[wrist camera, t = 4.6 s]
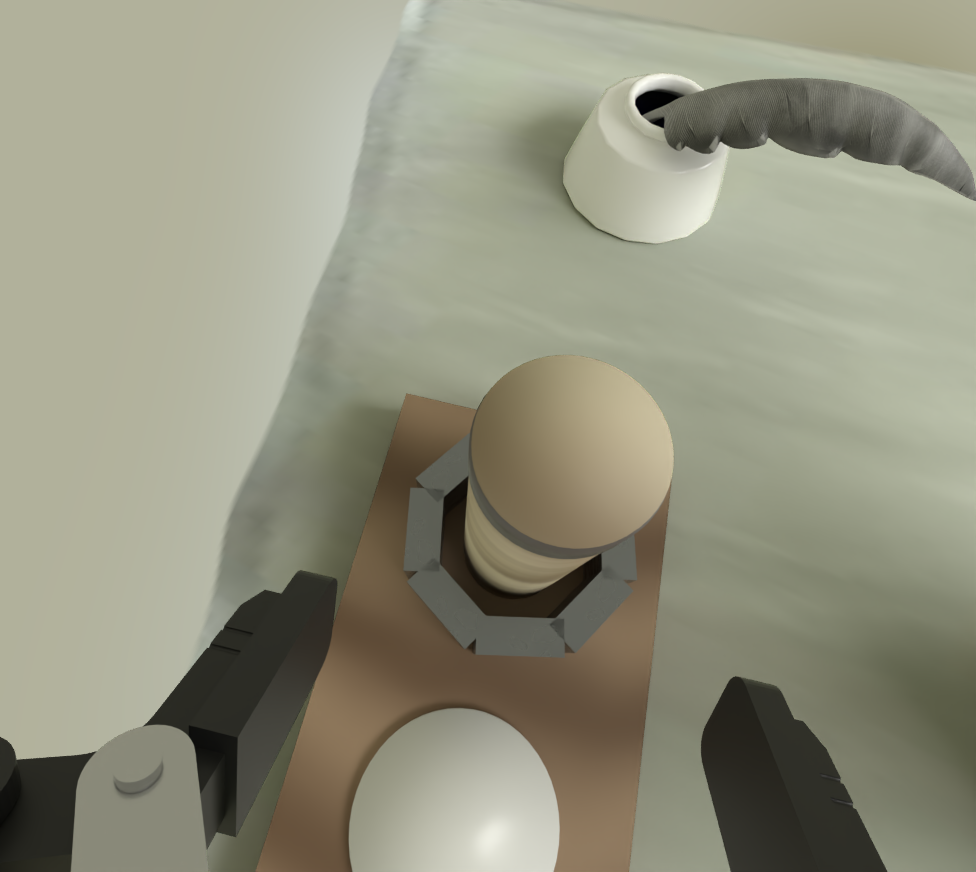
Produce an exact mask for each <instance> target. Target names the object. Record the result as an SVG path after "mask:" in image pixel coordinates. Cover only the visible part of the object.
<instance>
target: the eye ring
mask: <svg viewBox="0 0 976 872" xmlns="http://www.w3.org/2000/svg"><path fill="white" fill-rule="evenodd" d="M469 437H470V433H469V434H467V435H466V436H465V437H464V438H463V439H462V440H460V441H459V442H458V443H457V444H456V445H454V446H453V447H452V448H451V449H450V450H448V451H447V452H446V453H445V454H444V455H443V456H441V457H440V458H439V459H438V460H437V461H435V462H434V463H433V464H432V465H431V466H429V467H428V468H427V469H426V470H425V471H424V472H422V473H421V474H420V475H419V476H418V477H416V478H415V479H416V483H417V487H418V488H410V499H409V511H408V522H407V534H406V545H405V556H404V568H403V571H404V572H405V574H406V575H407V577H408V578H409V580H408V581H407V583H408V584H409V585H410V587H411V588H412V589H413V591H414V592H415V593H416V594H417V595H418V596H419V598H420V599H421V600H422V601H423V602H424V603H425V605H426V606H427V607H428V608H429V609H430V610H431V612H432V613H433V614H434V615H435V616H436V617H437V619H438V620H439V621H440V622H441V623H442V624H443V626H444V627H445V628H446V629H447V630H448V631H449V633H450V634H451V635H452V636H453V637H454V638H455V640H456V641H457V642H458V643H459V644H460V645H461V647H462V648H463V649H466V648H467V647H468V646H469V645H470V644H471V643H472V642H473V654H475V655H501V656H529V657H558V658H565V653H576V652H577V651H578V650H579V649H580V648H581V647H582V646H583V645H584V644H585V643H586V641H587V640H588V639H589V638H590V637H591V636H592V635H593V634H594V633H595V632H596V631H597V630H598V629H599V627H600V626H601V625H602V624H603V623H604V622H605V621H606V620H607V619H608V618H609V617H610V616H611V615H612V613H613V612H614V611H615V610H616V609H617V608H618V607H619V606H620V605H621V604H622V603H623V602H624V601H625V599H626V598H627V597H628V596H629V595H630V594H631V593H632V592H633V590H632V588H631V587H630V586H629V585H628V583H631V582H634V581H636V580H637V569H636V553H635V537H634V535H632V536H631V537H629V538H628V539H626V540H625V541H623V542H622V543H620V544H618V545H617V546H615V547H614V548H612V549H610V550H607V551H605V552H603V553H601V554H598V555H596V556H595V557H593V558H592V559H590V560H589V561H587V562H586V563H584V564H583V581H582V582H581V583H580V584H579V585H578V586H577V587H576V588H575V589H574V590H573V591H572V592H571V593H570V594H569V595H568V596H567V597H566V598H565V599H564V600H563V601H562V602H561V603H560V604H559V605H558V606H557V607H556V609H555V610H554V611H553V612H552V613H551V614H550V615H549V616H548V617H547V618H529V617H503V616H486V615H485V614H484V613H483V612H482V611H481V610H480V609H479V608H478V606H477V605H476V604H475V603H474V602H473V601H472V600H471V598H470V597H469V596H468V595H467V594H466V593H465V592H464V591H463V589H462V588H461V587H460V586H459V585H458V584H457V583H456V582H455V580H454V579H453V578H452V577H451V576H450V575H449V574H448V573H447V571H446V570H445V569H444V568H443V567H442V559H443V542H444V526H445V516H446V515H447V514H448V513H449V512H450V511H451V510H452V509H453V508H455V507H456V506H457V505H458V504H459V503H460V502H461V501H463V500H464V499H465V498H466V497H467V493H468V480H469V474H468V448H469Z"/></svg>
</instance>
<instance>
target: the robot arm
mask: <svg viewBox="0 0 976 872" xmlns="http://www.w3.org/2000/svg"><path fill="white" fill-rule="evenodd" d="M336 593H337V580H336V579H335V578H331V577H327V576H323V575H318V574H314V573H310V572H306V571H302V570H300V571H298V572H297V573H296V574H295V576H294V577H293V578H292V580H291V581H290V583H289V584H288V585H287V587H286V588H285V590H284V591H283V592H282V594H280V593H276V592H272V591H268V590H264V591H262V592H261V593H259V594H258V595H256V596H255V597H253V598H251V599H250V600H248V601H247V602H245V603H243V604H242V605H241V606H240V607H239V608H238V609H237V611H236V612H235V613H234V614H233V616H232V617H231V618H230V619H229V621H228V622H227V623H226V625H225V626H224V629H223V630H221V631H220V632H219V633H218V635H217V636H216V637H215V638H214V640H213V641H212V642H211V644H210V647H209V648H207V649H206V650H205V651H204V652H203V654H202V655H201V656H200V657H199V659H198V660H197V661H196V663H195V664H194V665H193V666H192V668H191V669H190V670H189V671H188V673H187V674H186V675H185V676H184V678H183V679H182V680H181V682H180V683H179V684H178V685H177V687H176V688H175V689H174V691H173V692H172V693H171V694H170V695H169V697H168V698H167V699H166V700H165V702H164V703H163V704H162V706H161V707H160V708H159V709H158V711H157V712H156V713H155V714H154V716H153V717H152V718H151V719H150V720H149V721H148V722H147V723H146V724H145V725H144V726H143V727H139V728H136V729H133V730H130V731H127V732H125V733H123V734H121V735H119V736H117V737H115V738H114V739H112V740H111V741H109V742H108V743H106V744H105V745H104V746H103V747H101V748H100V749H99V750H98V751H96V752H92V753H88V754H82V755H74V756H60V757H47V758H34V759H21V760H16V755H15V751H14V749H13V747H12V745H11V744H10V743H9V742H8V741H7V740H5V739H3V738H1V737H0V872H209V867H208V859H207V849H208V847H209V845H210V843H211V841H212V839H213V838H214V836H215V834H216V832H218V833H222V834H226V835H230V836H234V837H236V836H237V834H238V832H239V830H240V828H241V826H242V824H243V822H244V820H245V818H246V816H247V814H248V812H249V810H250V808H251V806H252V804H253V802H254V800H255V798H256V796H257V794H258V793H259V791H260V789H261V787H262V785H263V783H264V781H265V779H266V777H267V775H268V773H269V771H270V769H271V767H272V765H273V763H274V761H275V759H276V757H277V755H278V753H279V751H280V749H281V747H282V745H283V743H284V741H285V739H286V737H287V735H288V733H289V731H290V729H291V727H292V726H293V724H294V722H295V720H296V718H297V716H298V714H299V712H300V710H301V708H302V706H303V704H304V702H305V700H306V698H307V696H308V694H309V692H310V690H311V688H312V686H313V684H314V682H315V680H316V678H317V676H318V674H319V672H320V670H321V668H322V666H323V664H324V661H325V659H326V656H327V653H328V650H329V646H330V642H331V637H332V629H333V620H334V611H335V602H336ZM701 757H702V763H703V767H704V771H705V775H706V778H707V782H708V786H709V790H710V794H711V797H712V801H713V805H714V809H715V813H716V816H717V820H718V824H719V828H720V832H721V835H722V839H723V843H724V847H725V851H726V854H727V858H728V862H729V866H730V870H731V872H887V870H886V868H885V866H884V864H883V862H882V860H881V858H880V856H879V854H878V852H877V850H876V848H875V846H874V844H873V842H872V840H871V838H870V836H869V834H868V832H867V830H866V828H865V826H864V824H863V822H862V820H861V818H860V816H859V814H858V812H857V810H856V809H853V806H852V804H853V802H852V800H851V798H850V796H849V794H848V792H847V790H846V788H845V786H844V784H841V782H840V779H841V778H840V776H839V774H838V772H837V770H836V768H835V766H834V764H833V762H832V760H831V758H830V756H829V754H828V752H827V750H826V748H825V747H824V746H823V745H822V743H821V742H820V741H819V740H818V739H817V737H816V736H815V735H814V734H813V733H812V732H811V730H810V729H809V728H808V727H807V726H806V724H805V723H804V722H803V721H799V720H795V719H794V718H793V716H792V714H791V712H790V709H789V707H788V705H787V703H786V701H785V699H784V696H783V694H782V693H781V691H780V690H779V688H777V687H776V686H774V685H771V684H766V683H762V682H758V681H754V680H750V679H746V678H741V677H736V676H735V677H733V678H731V680H730V681H729V682H728V684H727V686H726V688H725V690H724V692H723V693H722V695H721V697H720V699H719V701H718V703H717V705H716V707H715V709H714V711H713V713H712V715H711V716H710V718H709V720H708V722H707V724H706V726H705V728H704V731H703V735H702V741H701Z"/></svg>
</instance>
